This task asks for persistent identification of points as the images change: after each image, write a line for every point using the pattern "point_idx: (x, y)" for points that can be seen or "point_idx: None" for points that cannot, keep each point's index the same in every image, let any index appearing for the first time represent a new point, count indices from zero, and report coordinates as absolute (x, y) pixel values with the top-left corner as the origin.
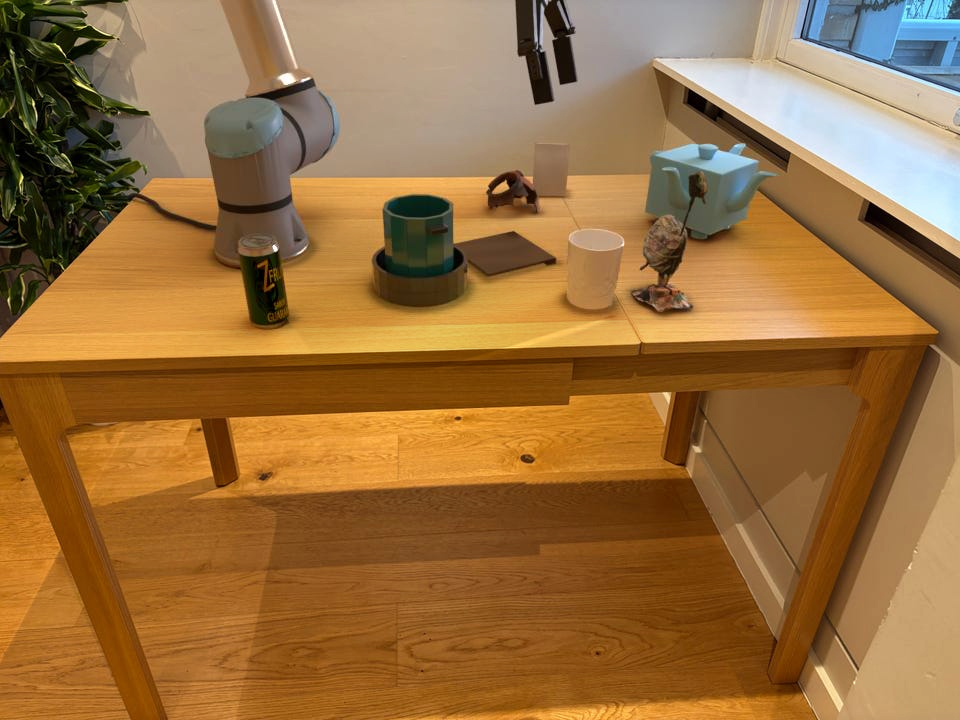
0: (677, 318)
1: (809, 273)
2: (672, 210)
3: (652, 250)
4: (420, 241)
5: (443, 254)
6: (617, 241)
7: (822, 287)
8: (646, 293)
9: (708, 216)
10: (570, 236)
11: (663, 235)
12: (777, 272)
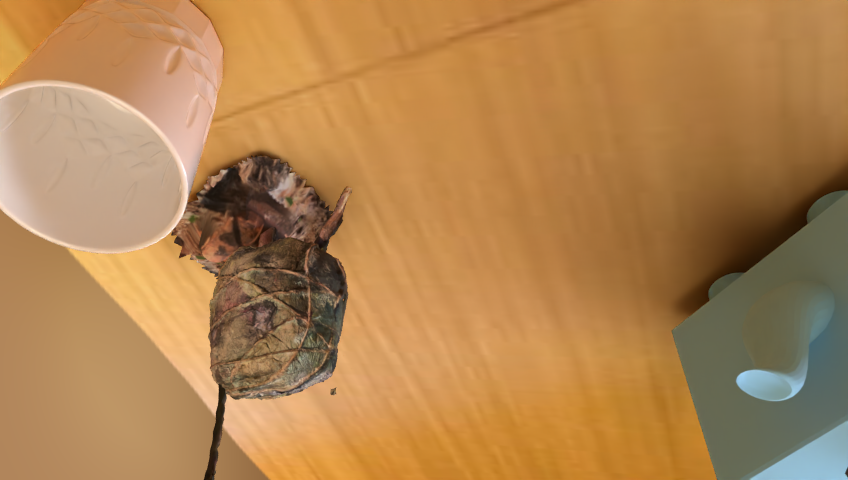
0: (179, 253)
1: (527, 459)
2: (795, 270)
3: (222, 287)
4: None
5: None
6: (162, 219)
7: (461, 469)
8: (226, 202)
9: (695, 363)
10: (52, 85)
11: (222, 343)
12: (517, 417)
